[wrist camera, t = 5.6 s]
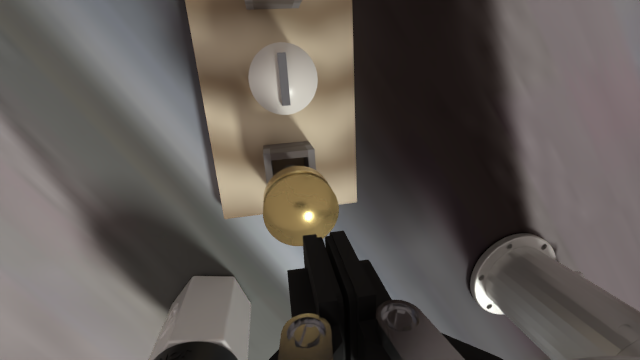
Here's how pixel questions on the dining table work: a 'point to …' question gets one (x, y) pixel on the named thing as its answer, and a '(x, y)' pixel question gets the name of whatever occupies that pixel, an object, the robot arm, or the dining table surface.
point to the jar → (206, 322)
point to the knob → (299, 205)
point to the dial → (283, 78)
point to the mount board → (260, 124)
